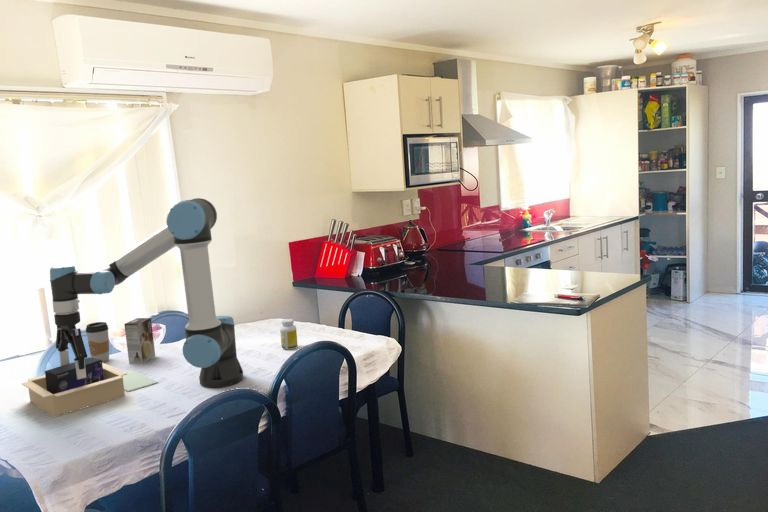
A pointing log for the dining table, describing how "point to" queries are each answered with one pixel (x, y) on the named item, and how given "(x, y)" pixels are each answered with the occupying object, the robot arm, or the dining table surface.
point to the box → (73, 376)
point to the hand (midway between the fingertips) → (73, 373)
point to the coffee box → (139, 340)
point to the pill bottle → (288, 334)
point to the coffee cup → (98, 340)
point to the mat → (136, 381)
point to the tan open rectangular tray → (76, 392)
